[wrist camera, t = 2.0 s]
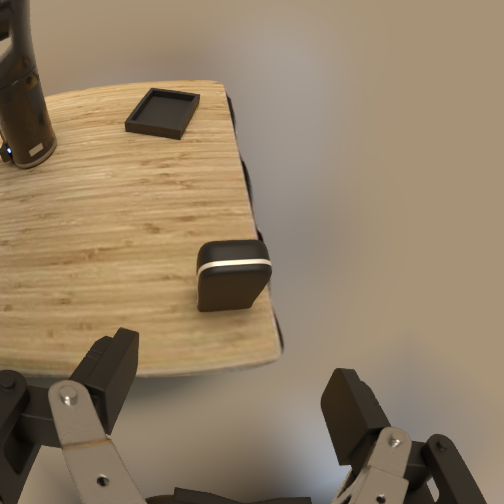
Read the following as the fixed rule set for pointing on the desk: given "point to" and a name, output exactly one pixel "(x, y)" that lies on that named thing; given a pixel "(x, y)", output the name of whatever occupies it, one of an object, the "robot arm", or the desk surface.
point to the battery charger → (231, 274)
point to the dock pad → (163, 113)
